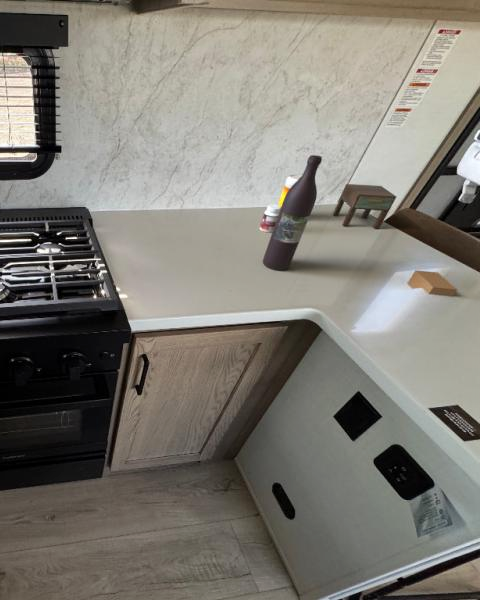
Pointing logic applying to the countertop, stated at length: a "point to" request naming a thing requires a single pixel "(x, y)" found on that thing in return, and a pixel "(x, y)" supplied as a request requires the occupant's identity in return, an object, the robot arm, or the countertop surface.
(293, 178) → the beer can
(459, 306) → the countertop surface
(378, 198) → the drawer table
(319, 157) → the wine bottle
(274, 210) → the pill bottle
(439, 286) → the storage box
